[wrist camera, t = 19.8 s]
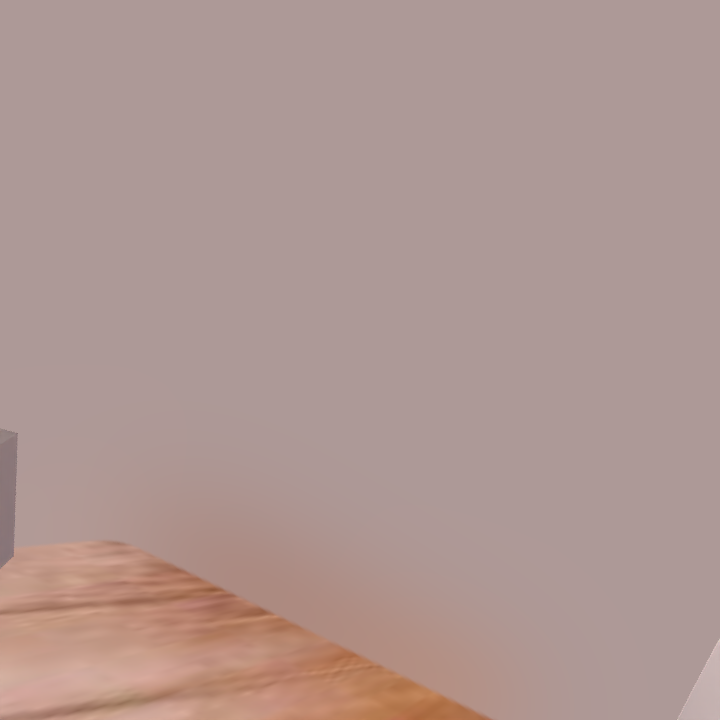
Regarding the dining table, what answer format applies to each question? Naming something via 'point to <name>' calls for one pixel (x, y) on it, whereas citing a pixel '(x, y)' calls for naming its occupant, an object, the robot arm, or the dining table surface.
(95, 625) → the dining table surface
